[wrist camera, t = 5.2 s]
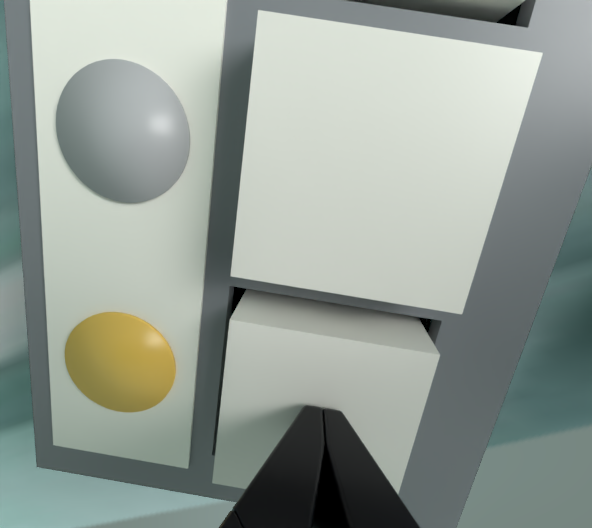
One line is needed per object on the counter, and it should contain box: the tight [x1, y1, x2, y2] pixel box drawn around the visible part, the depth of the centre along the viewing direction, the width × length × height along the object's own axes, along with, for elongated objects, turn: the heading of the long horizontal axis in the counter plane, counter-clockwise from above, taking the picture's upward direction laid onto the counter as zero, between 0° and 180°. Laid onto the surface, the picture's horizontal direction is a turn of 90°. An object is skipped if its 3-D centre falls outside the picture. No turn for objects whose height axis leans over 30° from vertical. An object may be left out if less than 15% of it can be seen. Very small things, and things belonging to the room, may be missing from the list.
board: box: [4, 0, 592, 528], centre depth 9 cm, size 12×19×3 cm, turn 172°
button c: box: [212, 289, 440, 494], centre depth 10 cm, size 4×4×2 cm
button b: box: [231, 10, 543, 314], centre depth 8 cm, size 4×4×2 cm
